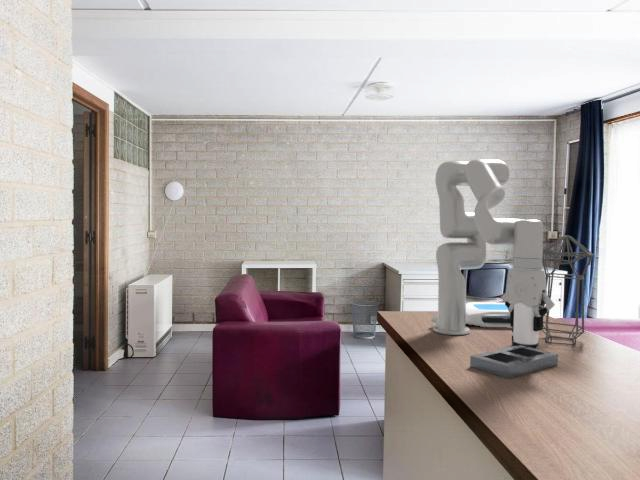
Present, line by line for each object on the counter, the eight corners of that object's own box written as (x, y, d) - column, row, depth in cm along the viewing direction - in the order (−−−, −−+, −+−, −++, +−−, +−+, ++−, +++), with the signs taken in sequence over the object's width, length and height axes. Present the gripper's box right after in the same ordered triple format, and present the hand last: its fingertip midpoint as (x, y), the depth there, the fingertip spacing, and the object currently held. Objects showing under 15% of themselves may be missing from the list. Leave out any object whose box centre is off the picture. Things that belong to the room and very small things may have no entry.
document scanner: (543, 328, 188) (544, 312, 187) (467, 328, 188) (467, 311, 188) (522, 317, 209) (523, 302, 208) (453, 316, 209) (454, 301, 209)
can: (509, 340, 145) (510, 298, 145) (530, 339, 146) (531, 298, 145) (519, 345, 139) (521, 301, 138) (542, 345, 139) (543, 301, 139)
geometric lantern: (536, 334, 178) (541, 234, 177) (586, 340, 172) (592, 236, 170) (534, 343, 164) (540, 234, 162) (589, 350, 157) (596, 237, 156)
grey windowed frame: (470, 366, 138) (470, 355, 138) (519, 354, 151) (519, 344, 151) (508, 378, 129) (508, 366, 128) (557, 364, 141) (558, 353, 141)
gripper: (492, 262, 146) (491, 324, 147) (549, 267, 132) (547, 335, 133) (508, 261, 151) (507, 321, 151) (565, 266, 136) (563, 332, 137)
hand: (526, 327), depth 142 cm, fingers closed on can, 6 cm apart
